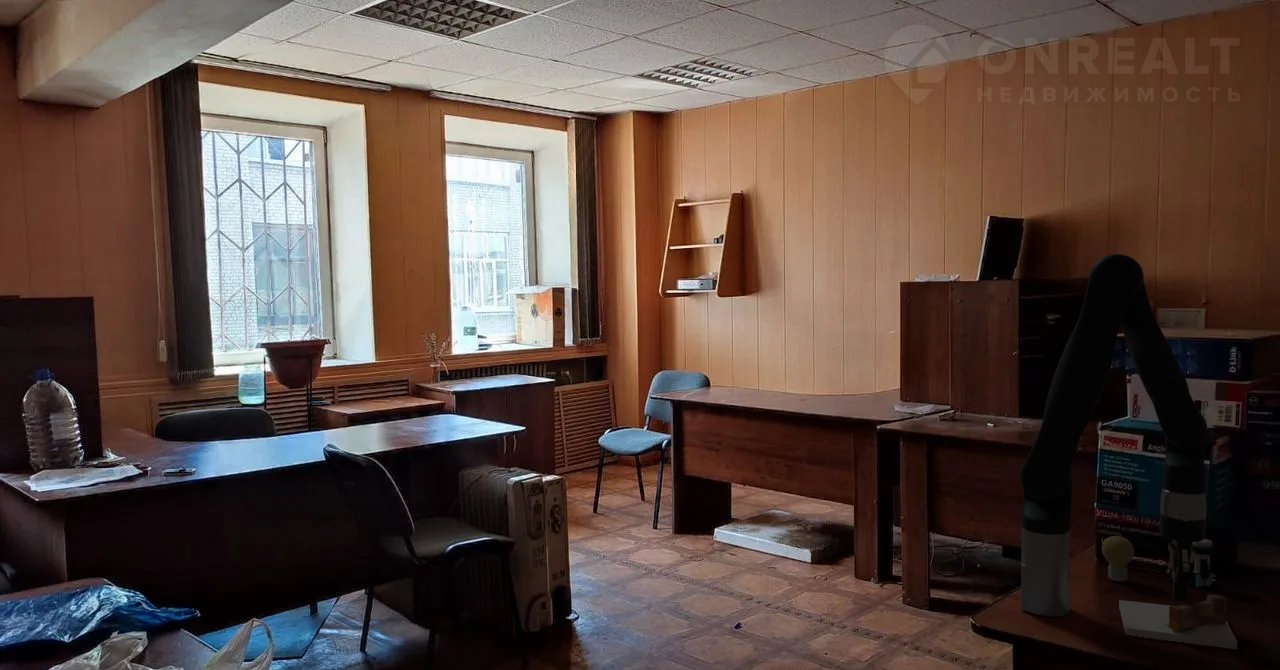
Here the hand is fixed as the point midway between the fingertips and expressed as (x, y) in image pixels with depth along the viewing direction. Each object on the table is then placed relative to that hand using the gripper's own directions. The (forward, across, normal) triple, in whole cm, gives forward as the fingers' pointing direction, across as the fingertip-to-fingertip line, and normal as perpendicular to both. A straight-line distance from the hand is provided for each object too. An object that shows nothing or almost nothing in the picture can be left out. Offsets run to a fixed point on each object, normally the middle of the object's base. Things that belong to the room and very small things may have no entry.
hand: (1179, 600), depth 170 cm
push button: (+6, -29, +8) cm, 31 cm away
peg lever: (+4, +1, +3) cm, 5 cm away
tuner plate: (+6, -1, -1) cm, 6 cm away
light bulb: (+6, -26, -9) cm, 28 cm away
